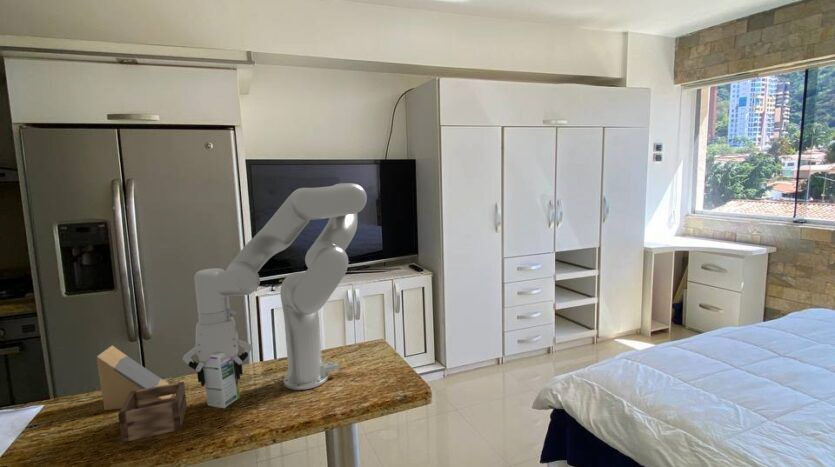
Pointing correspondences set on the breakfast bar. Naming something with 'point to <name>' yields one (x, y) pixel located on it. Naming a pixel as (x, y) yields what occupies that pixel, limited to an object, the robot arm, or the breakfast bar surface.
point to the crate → (152, 412)
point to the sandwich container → (123, 378)
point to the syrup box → (221, 381)
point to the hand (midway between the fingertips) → (221, 380)
